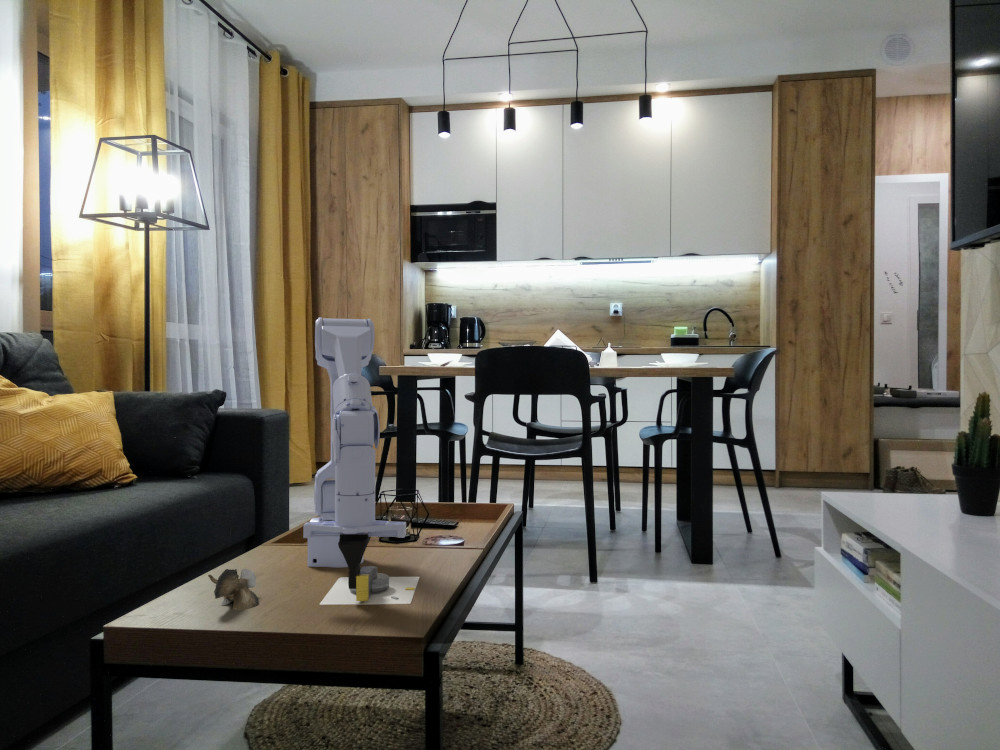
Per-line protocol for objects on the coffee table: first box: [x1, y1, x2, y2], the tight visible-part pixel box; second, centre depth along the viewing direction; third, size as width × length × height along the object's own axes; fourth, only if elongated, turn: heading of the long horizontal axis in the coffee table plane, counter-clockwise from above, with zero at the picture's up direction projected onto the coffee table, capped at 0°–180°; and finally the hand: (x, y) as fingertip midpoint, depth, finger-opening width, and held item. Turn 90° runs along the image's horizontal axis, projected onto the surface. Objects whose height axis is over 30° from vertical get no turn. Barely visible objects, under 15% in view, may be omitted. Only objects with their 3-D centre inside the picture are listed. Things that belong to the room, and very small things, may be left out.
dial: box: [349, 565, 390, 601], centre depth 104 cm, size 10×6×4 cm, turn 2°
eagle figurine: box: [207, 568, 260, 611], centre depth 99 cm, size 8×7×9 cm
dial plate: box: [318, 576, 420, 606], centre depth 106 cm, size 13×14×1 cm
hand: (355, 586), depth 100 cm, fingers closed, pressing on dial
